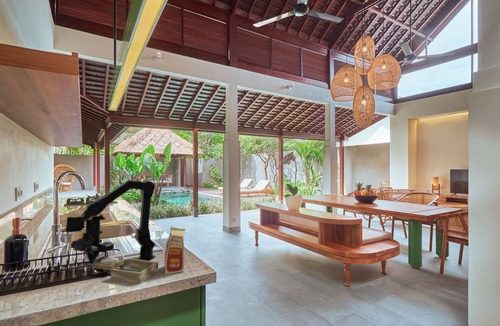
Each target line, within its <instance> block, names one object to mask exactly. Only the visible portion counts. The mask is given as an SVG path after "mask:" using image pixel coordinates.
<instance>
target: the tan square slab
mask: <svg viewBox="0 0 500 326" xmlns="http://www.w3.org/2000/svg"><path fill="white" fill-rule="evenodd" d="M124 264H125V259H120V258H119V257H118V258H117V257H113V256H112V257H111V256H107V255H102V256H99V257H98V258H96V259H95V260H94V263H92V264H91V266H92V267H91V268H93V271H94V270H96V271H97V270H98V271H99V270H106V273H107V272H109V273H110V274H111V269H115V268H117V267H121V268H123V265H124Z"/></svg>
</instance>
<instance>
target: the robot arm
mask: <svg viewBox="0 0 500 326" xmlns="http://www.w3.org/2000/svg"><path fill="white" fill-rule="evenodd" d="M155 186H156V185H155V183H154V182H152V181H150V180H143V181H138V180H132V179H127V180H126V181H125V182H123V183H122V184H120V185H119V186H118V187H116V188H114V189H113V190H112V191H110V192H109V193H107V194H106V195H103V196H102V197H99V198H97V199H95V200H93V201H90V202H89V203H88V204H87V205H86V208H85V210H84V211H83V212H82V213H81V215H80V216H67V217H66V223H65V226H66V228H65V233H66V234H68V233H69V234H70V233H77V232H82V230H83V229H85V232H83V234H82V237H81V238H79V239H76V240H72V241H71V243H70V248H71V249H74V251H76V252H78V251H79V252H83V253H85V254H86V257H87V259H88V262H89V264H90V265H92V263H94V260H95V259H98V258H97V257H98V256H99V254H100V253H106V252H108V251H111V250H113V249H115V244H114V242H110V241H105V242H103V240H102V239H101V235H102V234H103V231H102V230H101V221H105V220H106V217H105V216H104V215H103V214H102V212H103V211H104V210H105V209H106V208H107V207H108V206H109V205H110V204H111V203H112V202H114V201H115V200H117V199H119V197H121V196H122V195H124V194H125V193H127V192H128V191H130V190H131V189H132V190H133V189H134V190H139V191H140V197H141V205H140V206H141V207H140V216H139V217H140V218H139V227H138V228H136V229H134V232H135V233H134V238H135V240H136V242H137V243H138V244H139V245H140V247H139V249H140V250H139V257H138V258H136V259H139V260H146V261H152V259H154V258H156V255H154V247H155V245H156V243H155V242H154V241H153V240H152V239H151V232H150V231H151V230H150V226H149V224H150V214H151V202H152V200H151V199H152V197H153V194H154V192H155V189H156V188H155ZM83 231H84V230H83Z"/></svg>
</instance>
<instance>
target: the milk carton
mask: <svg viewBox="0 0 500 326" xmlns="http://www.w3.org/2000/svg"><path fill="white" fill-rule="evenodd" d="M185 231H186V228H180V227H174V226H170V232H169V236H168V239H167V242H166V245H165V246H166V247H165V251H164V252H165V253H164V272H165V275H172V274H177V273H178V274H179V273H184V272H185V243H184V236H185V235H184V234H185Z"/></svg>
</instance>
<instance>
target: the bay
mask: <svg viewBox="0 0 500 326" xmlns="http://www.w3.org/2000/svg"><path fill="white" fill-rule="evenodd" d="M128 269H132V270H138V271H141V272H137V271H130V270H122V269H111V273H110V274H111V275H110V280H116V281H122V282H126V281H127V283H132V282H133V284H139V283H140V284H142V283H143V282H145V281H146V280H147V279H149V278H150V277H151V276H153V275H154V274H156V273H157V272H158V271H159V262H158V261H152V260H149V261H146V260H139V259H137V258H130V259H129V268H128Z"/></svg>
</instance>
